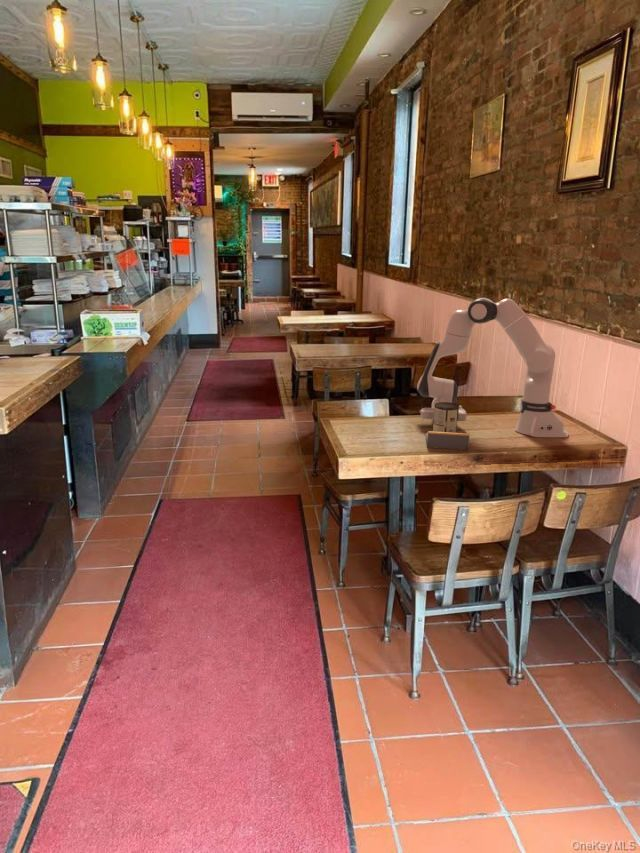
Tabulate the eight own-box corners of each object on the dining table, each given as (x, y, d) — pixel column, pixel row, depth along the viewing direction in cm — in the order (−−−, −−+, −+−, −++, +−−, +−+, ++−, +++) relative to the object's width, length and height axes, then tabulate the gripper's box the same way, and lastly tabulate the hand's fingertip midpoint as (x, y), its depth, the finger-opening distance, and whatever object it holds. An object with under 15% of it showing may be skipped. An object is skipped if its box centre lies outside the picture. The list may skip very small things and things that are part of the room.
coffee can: (439, 431, 277) (442, 400, 273) (460, 436, 271) (463, 404, 267) (427, 436, 270) (430, 404, 266) (448, 441, 263) (451, 408, 260)
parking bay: (464, 440, 265) (466, 425, 263) (468, 450, 252) (469, 434, 250) (425, 438, 267) (426, 423, 265) (426, 447, 254) (428, 432, 252)
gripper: (419, 403, 287) (420, 410, 274) (465, 405, 285) (468, 413, 271) (418, 416, 289) (419, 424, 275) (463, 419, 286) (467, 427, 273)
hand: (444, 418), depth 273 cm, fingers closed, pressing on coffee can
